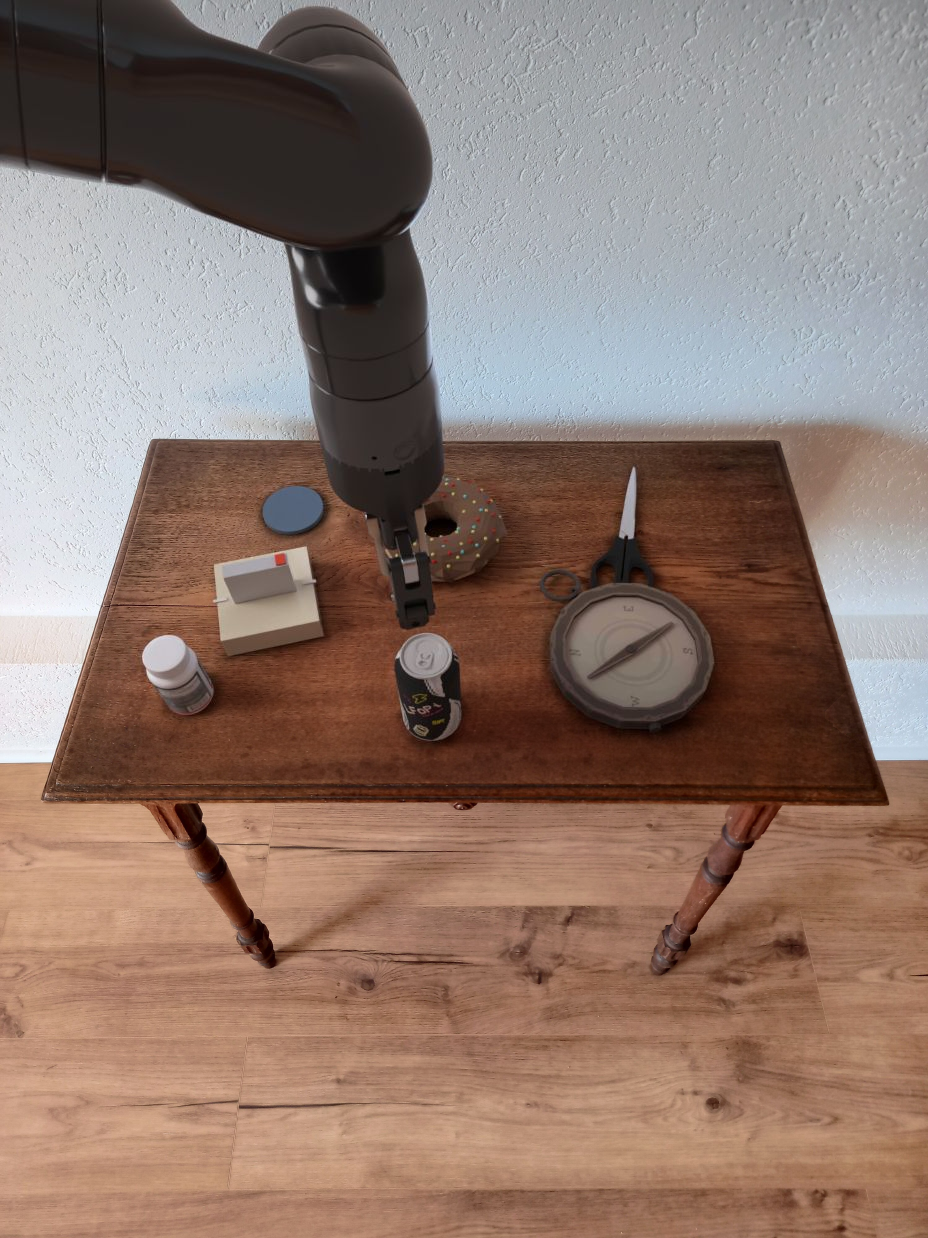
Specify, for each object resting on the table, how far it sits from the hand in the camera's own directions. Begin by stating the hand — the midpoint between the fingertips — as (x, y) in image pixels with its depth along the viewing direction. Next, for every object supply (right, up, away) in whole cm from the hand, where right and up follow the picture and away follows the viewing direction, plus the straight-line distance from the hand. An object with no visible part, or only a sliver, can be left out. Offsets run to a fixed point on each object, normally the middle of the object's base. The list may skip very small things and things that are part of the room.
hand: (402, 578), depth 62 cm
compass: (+21, -6, +21) cm, 31 cm away
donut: (+3, +5, +29) cm, 30 cm away
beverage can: (+2, -13, +17) cm, 22 cm away
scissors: (+23, +6, +29) cm, 38 cm away
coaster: (-15, +9, +32) cm, 37 cm away
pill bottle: (-23, -11, +19) cm, 32 cm away
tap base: (-16, -2, +25) cm, 29 cm away
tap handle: (-16, 0, +22) cm, 27 cm away
